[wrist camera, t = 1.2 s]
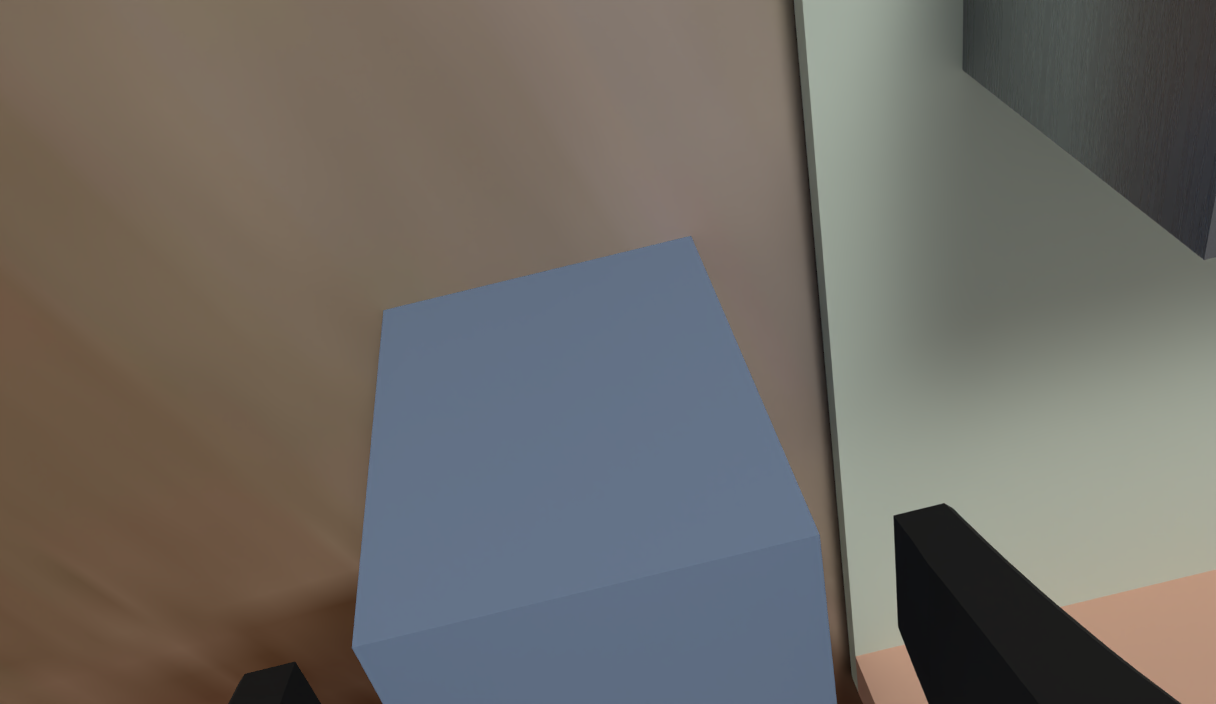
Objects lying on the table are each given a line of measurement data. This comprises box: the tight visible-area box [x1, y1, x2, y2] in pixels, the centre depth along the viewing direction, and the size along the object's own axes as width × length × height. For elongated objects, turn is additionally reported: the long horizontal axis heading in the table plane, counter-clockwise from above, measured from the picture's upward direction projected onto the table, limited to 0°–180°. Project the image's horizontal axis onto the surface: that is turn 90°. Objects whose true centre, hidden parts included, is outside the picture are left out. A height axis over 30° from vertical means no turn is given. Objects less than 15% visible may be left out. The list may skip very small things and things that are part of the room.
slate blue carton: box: [352, 236, 837, 704], centre depth 13 cm, size 4×5×6 cm
